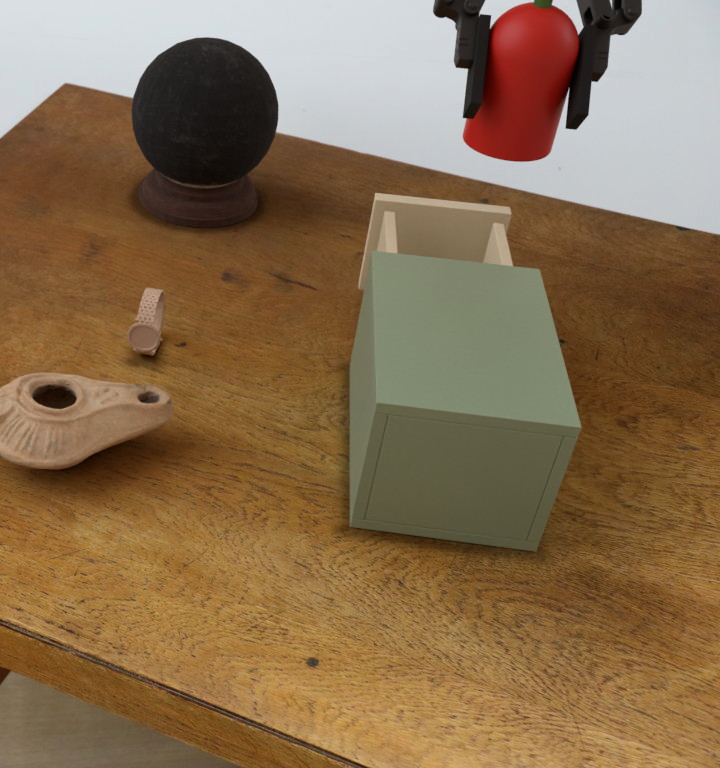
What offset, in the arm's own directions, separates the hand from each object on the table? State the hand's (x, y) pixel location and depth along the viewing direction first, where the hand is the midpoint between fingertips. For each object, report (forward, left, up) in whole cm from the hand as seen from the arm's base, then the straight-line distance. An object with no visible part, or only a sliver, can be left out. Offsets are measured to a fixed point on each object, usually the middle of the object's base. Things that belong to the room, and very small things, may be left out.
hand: (524, 116), depth 77 cm
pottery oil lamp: (+27, +20, -19) cm, 39 cm away
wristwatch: (+24, +7, -19) cm, 32 cm away
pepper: (0, -4, -4) cm, 5 cm away
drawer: (+3, +1, -18) cm, 18 cm away
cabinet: (+3, +15, -18) cm, 24 cm away
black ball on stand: (+23, -18, -19) cm, 35 cm away
